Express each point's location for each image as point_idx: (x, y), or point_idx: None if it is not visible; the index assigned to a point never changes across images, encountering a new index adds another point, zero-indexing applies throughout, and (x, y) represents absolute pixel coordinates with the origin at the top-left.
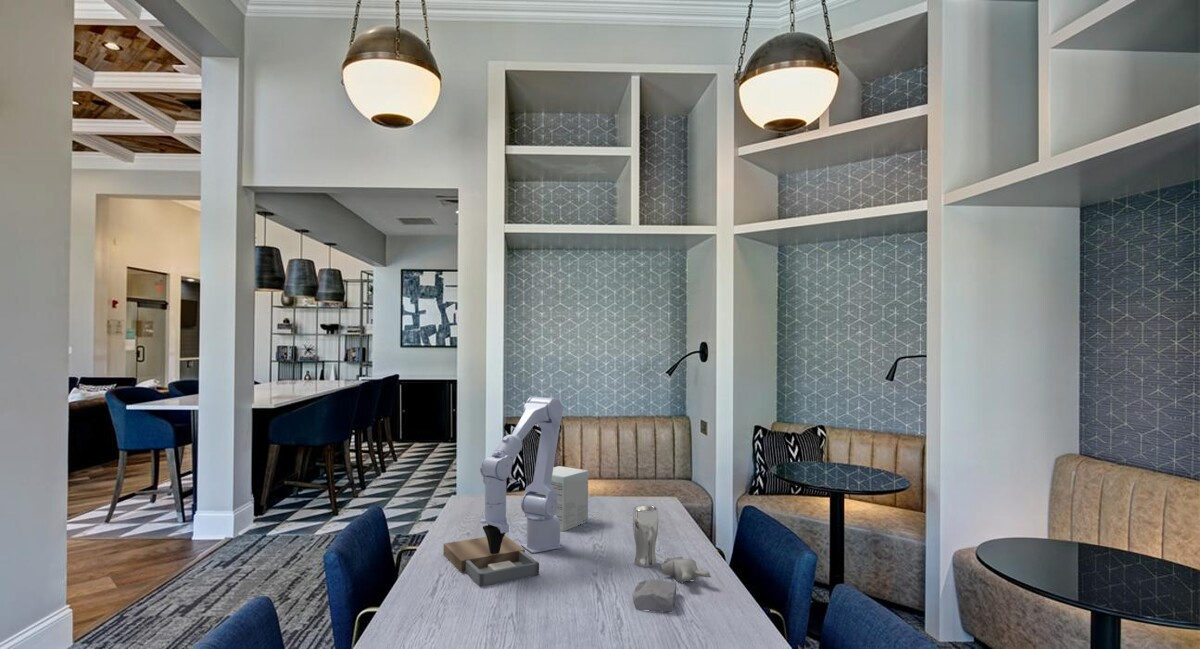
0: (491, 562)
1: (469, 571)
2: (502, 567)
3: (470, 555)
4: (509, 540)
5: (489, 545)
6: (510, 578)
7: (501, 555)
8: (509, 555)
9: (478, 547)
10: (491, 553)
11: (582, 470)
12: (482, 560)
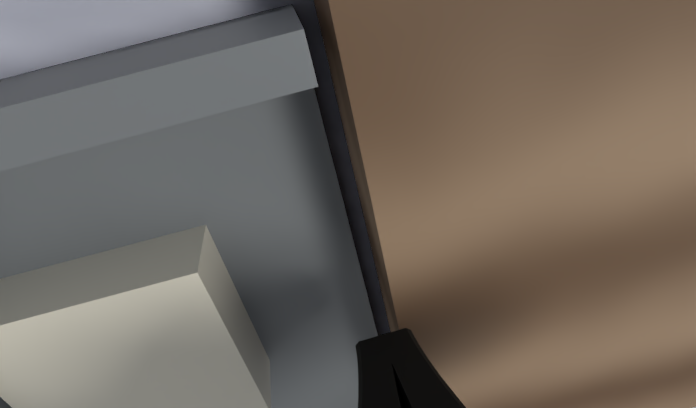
0: (379, 270)
1: (140, 53)
2: (93, 381)
3: (496, 112)
4: (669, 406)
5: (410, 405)
6: None
7: None
8: None
9: (692, 207)
10: (366, 343)
11: None
12: (370, 220)
